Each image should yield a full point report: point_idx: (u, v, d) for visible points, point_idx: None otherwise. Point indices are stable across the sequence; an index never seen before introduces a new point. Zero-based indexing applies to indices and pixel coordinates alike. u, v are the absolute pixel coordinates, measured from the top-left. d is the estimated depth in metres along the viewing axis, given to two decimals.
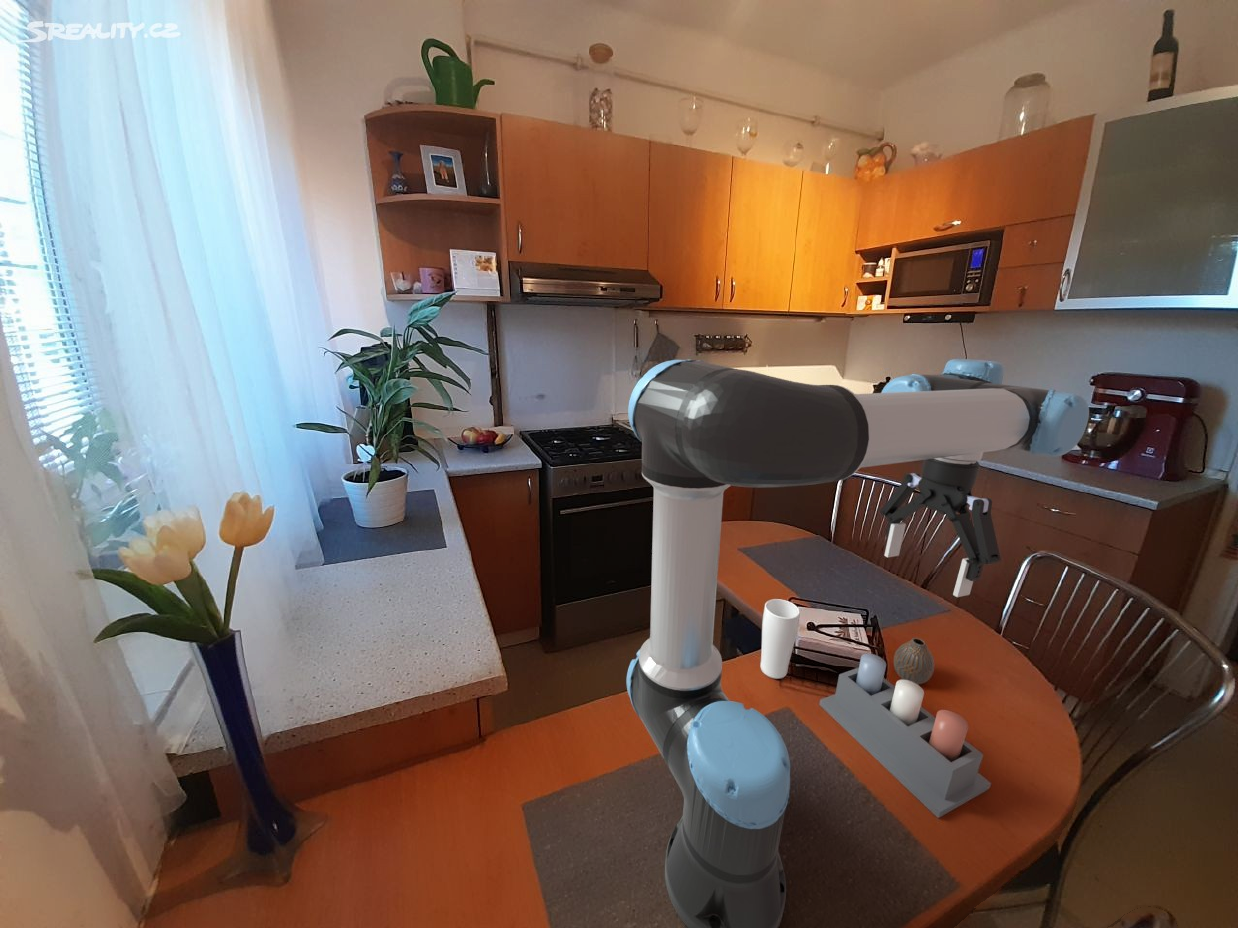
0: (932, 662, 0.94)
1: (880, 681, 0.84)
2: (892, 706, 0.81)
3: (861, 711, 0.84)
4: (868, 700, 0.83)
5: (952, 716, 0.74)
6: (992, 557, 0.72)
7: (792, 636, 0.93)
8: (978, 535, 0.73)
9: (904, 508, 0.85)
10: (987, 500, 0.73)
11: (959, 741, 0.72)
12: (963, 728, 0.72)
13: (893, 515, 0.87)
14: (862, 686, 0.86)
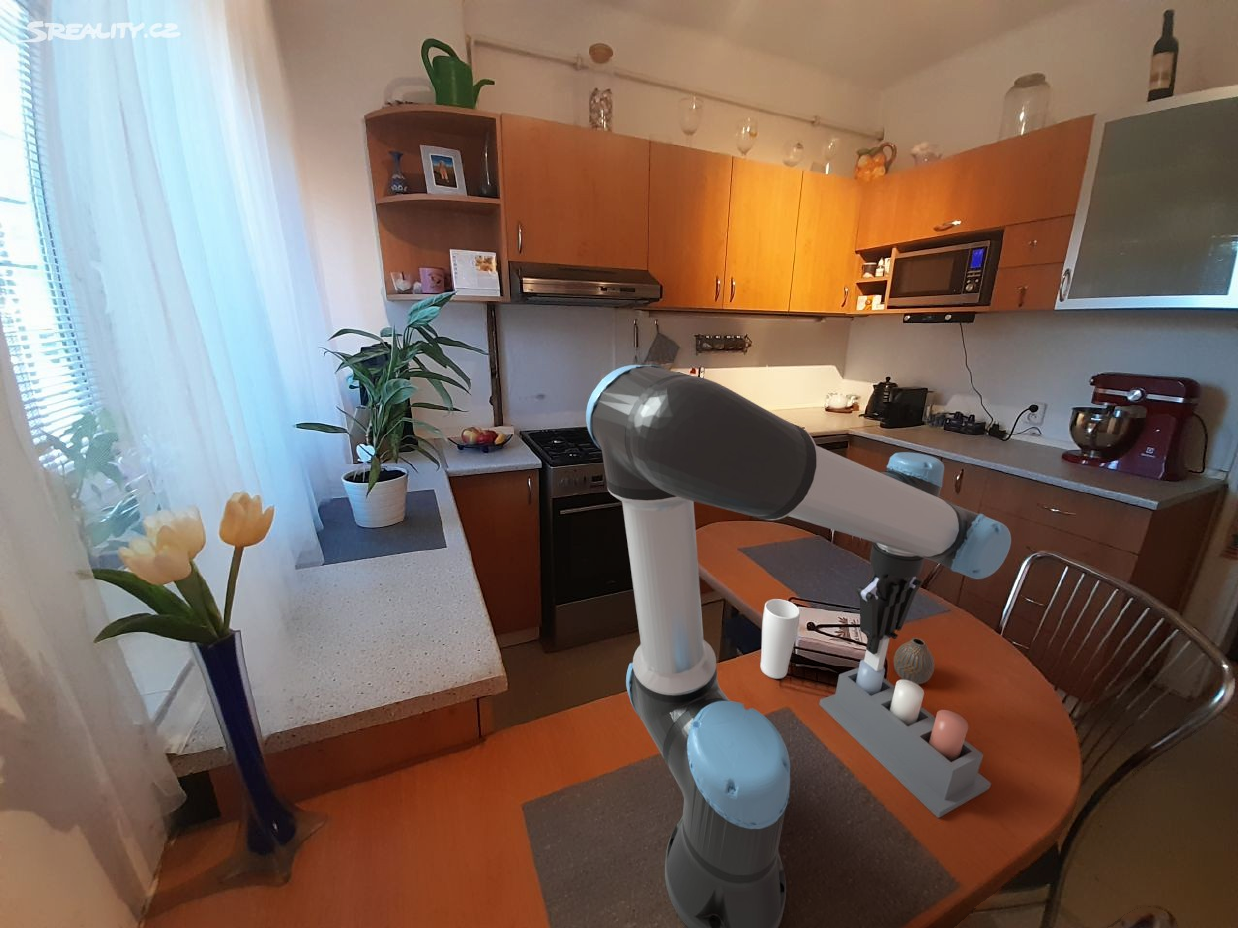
0: (932, 662, 0.94)
1: (879, 687, 0.85)
2: (892, 706, 0.81)
3: (861, 711, 0.84)
4: (868, 700, 0.83)
5: (952, 716, 0.74)
6: (865, 631, 0.82)
7: (792, 636, 0.93)
8: None
9: None
10: (865, 595, 0.78)
11: (959, 741, 0.72)
12: (963, 728, 0.72)
13: None
14: None
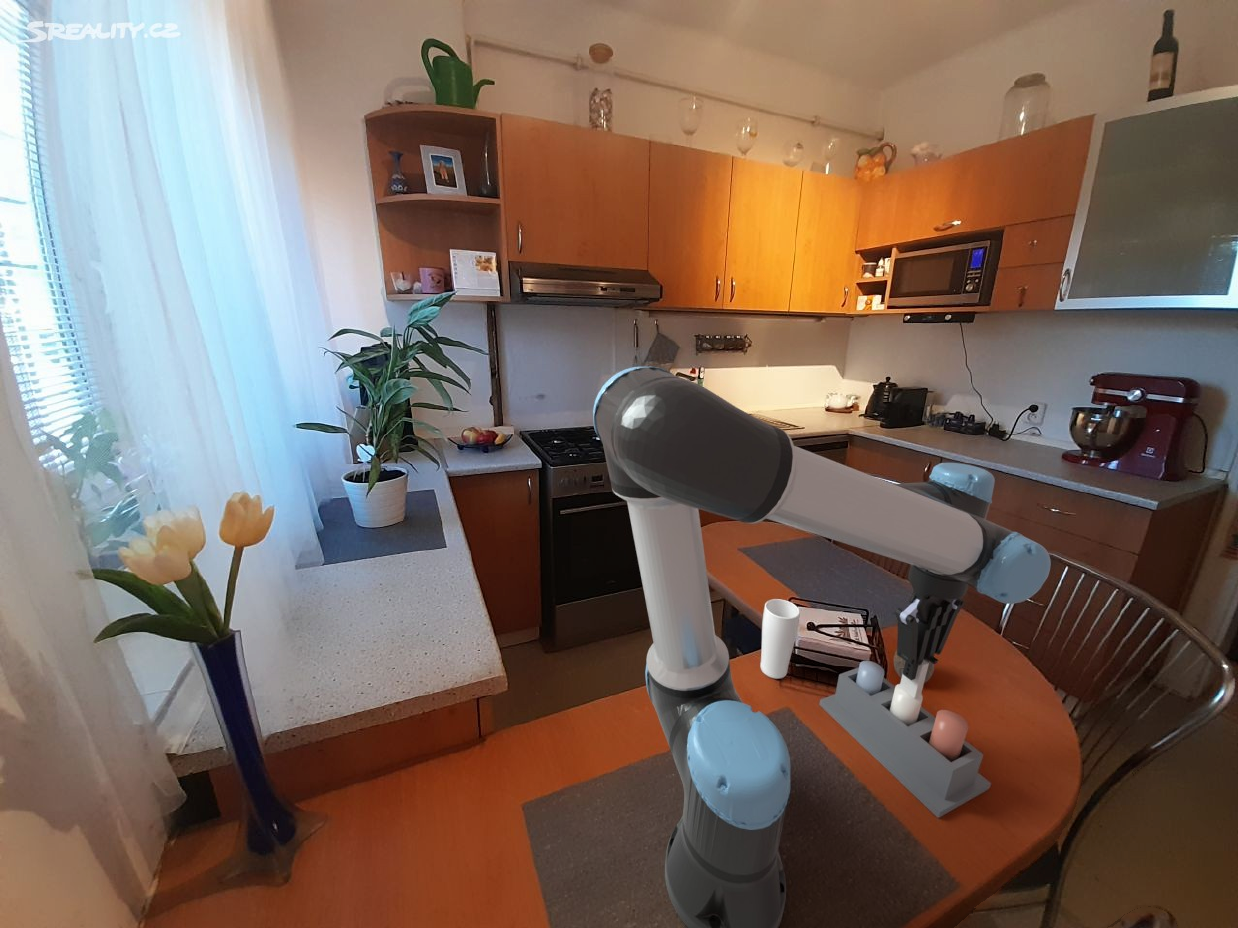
0: None
1: (879, 689, 0.85)
2: (891, 710, 0.81)
3: (861, 711, 0.84)
4: (868, 700, 0.83)
5: (952, 716, 0.74)
6: (902, 655, 0.76)
7: (792, 636, 0.93)
8: None
9: None
10: (905, 617, 0.72)
11: (959, 741, 0.72)
12: (963, 728, 0.72)
13: None
14: None
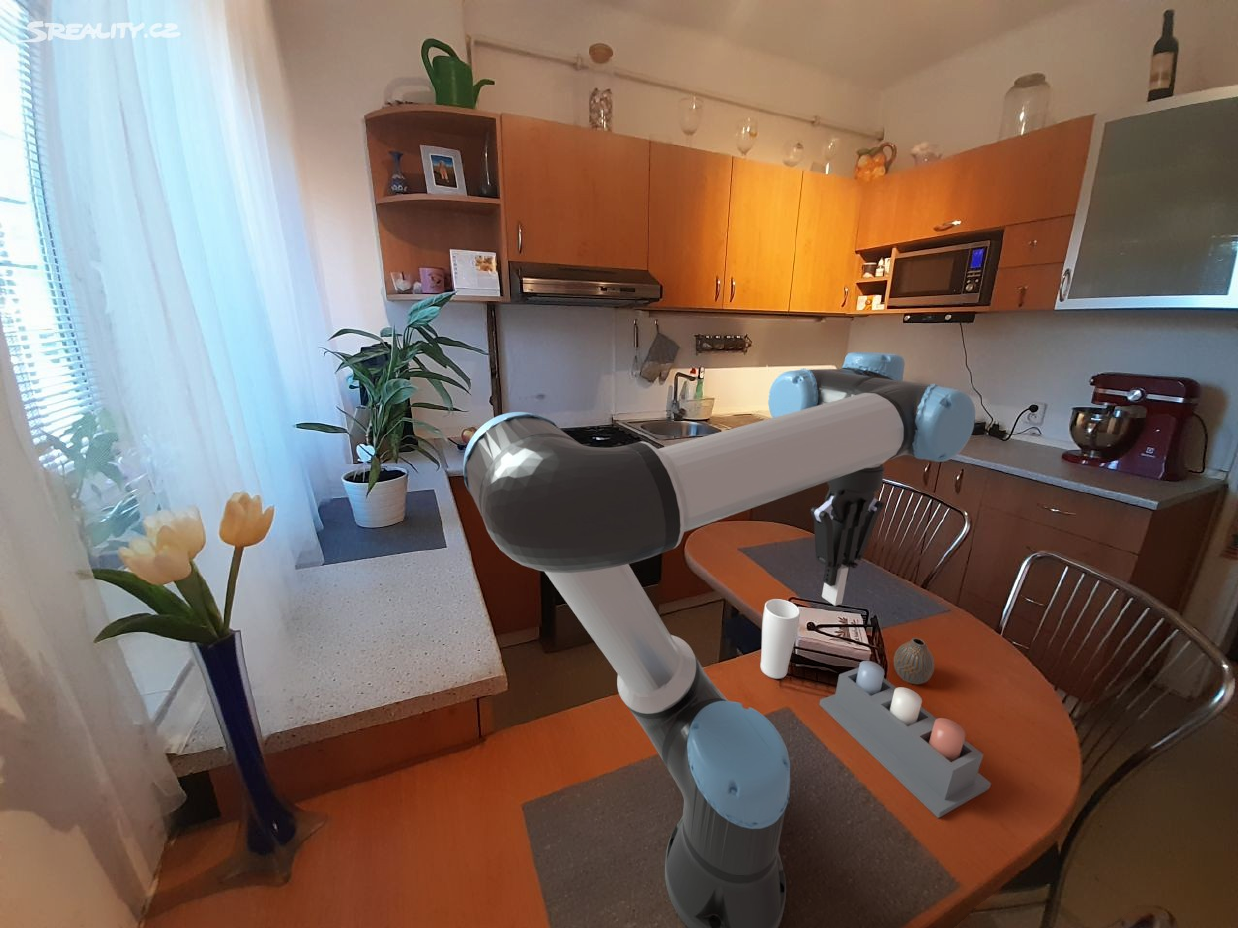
0: (932, 662, 0.94)
1: (879, 689, 0.85)
2: None
3: (861, 711, 0.84)
4: (868, 700, 0.83)
5: (950, 724, 0.74)
6: (820, 559, 0.73)
7: (792, 636, 0.93)
8: None
9: None
10: (819, 514, 0.69)
11: (957, 750, 0.72)
12: (960, 736, 0.72)
13: None
14: None
